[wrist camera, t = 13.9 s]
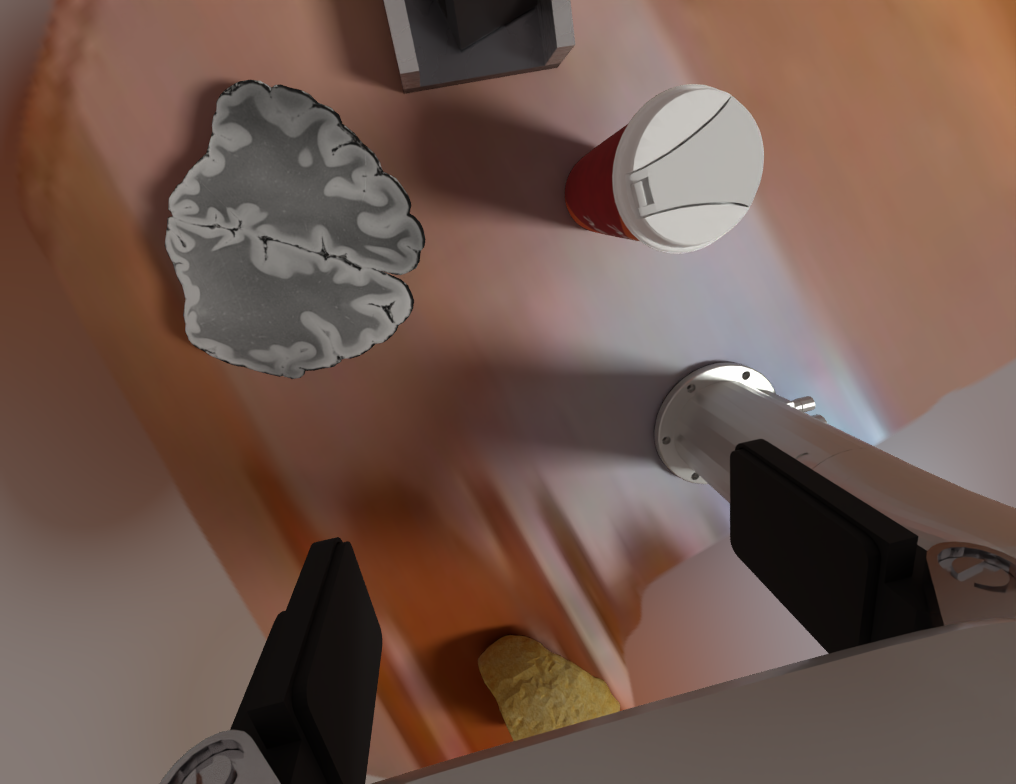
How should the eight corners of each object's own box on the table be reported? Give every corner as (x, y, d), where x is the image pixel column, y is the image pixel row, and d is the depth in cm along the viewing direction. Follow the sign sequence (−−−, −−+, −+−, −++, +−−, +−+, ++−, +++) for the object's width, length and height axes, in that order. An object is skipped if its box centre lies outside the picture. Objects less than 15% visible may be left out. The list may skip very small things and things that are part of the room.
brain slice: (394, 388, 41) (391, 400, 38) (177, 341, 37) (156, 350, 34) (449, 149, 35) (451, 142, 33) (202, 63, 31) (179, 47, 29)
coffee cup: (568, 261, 39) (645, 278, 25) (536, 158, 36) (603, 112, 22) (660, 223, 39) (787, 219, 25) (635, 118, 36) (764, 47, 22)
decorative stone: (629, 619, 50) (566, 736, 38) (640, 733, 53) (584, 873, 41) (526, 589, 58) (447, 679, 46) (541, 690, 61) (470, 799, 49)
